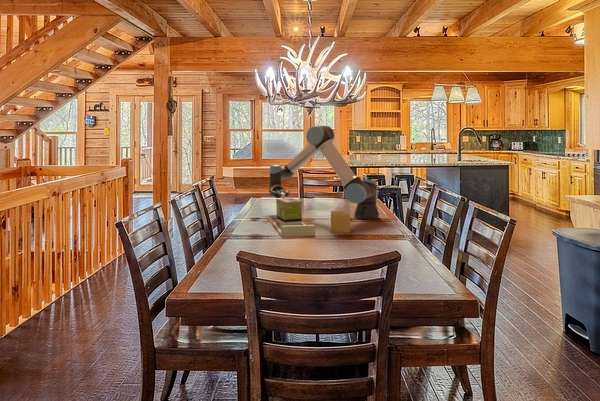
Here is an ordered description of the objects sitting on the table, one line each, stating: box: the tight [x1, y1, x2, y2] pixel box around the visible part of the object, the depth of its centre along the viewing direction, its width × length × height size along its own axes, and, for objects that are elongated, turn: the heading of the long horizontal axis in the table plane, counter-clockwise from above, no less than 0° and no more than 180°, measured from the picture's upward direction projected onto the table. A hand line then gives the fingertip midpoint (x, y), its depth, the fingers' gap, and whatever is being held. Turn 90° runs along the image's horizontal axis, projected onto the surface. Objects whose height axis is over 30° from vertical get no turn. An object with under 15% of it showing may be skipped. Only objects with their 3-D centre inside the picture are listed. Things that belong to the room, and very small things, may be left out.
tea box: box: [275, 197, 303, 227], centre depth 283 cm, size 15×10×15 cm
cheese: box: [330, 210, 351, 234], centre depth 269 cm, size 10×11×10 cm
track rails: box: [267, 217, 307, 231], centre depth 287 cm, size 17×38×2 cm, turn 11°
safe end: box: [276, 224, 316, 237], centre depth 262 cm, size 17×14×5 cm
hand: (283, 196), depth 297 cm, fingers closed
